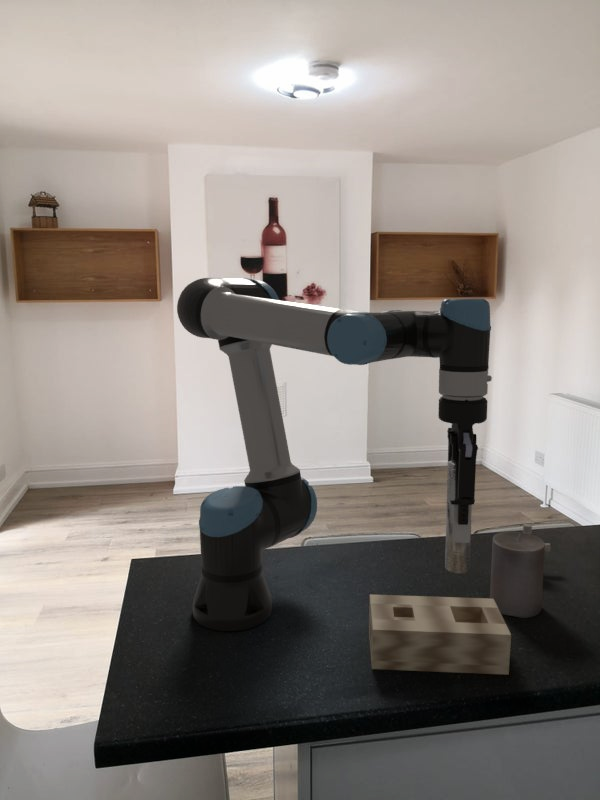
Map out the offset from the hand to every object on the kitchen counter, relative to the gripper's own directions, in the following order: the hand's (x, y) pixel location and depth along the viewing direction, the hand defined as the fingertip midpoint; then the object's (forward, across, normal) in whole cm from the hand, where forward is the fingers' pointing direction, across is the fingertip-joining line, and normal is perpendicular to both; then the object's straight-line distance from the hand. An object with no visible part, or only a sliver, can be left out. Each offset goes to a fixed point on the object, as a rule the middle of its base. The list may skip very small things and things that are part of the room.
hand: (458, 536), depth 104 cm
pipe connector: (+21, +36, -21) cm, 47 cm away
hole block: (+21, +1, +3) cm, 22 cm away
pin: (+6, 0, 0) cm, 6 cm away
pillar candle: (+22, +18, -14) cm, 32 cm away
